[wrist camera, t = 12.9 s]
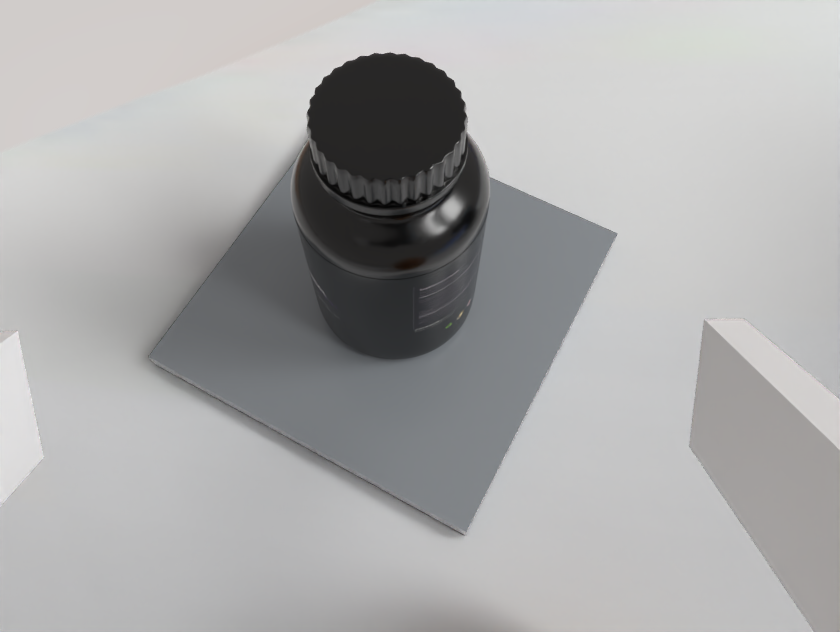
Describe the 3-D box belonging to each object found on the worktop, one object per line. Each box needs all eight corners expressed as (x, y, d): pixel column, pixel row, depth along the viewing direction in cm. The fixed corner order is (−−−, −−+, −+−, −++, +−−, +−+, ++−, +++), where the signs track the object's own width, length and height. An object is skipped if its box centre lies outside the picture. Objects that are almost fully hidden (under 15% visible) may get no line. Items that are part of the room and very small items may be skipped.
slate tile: (613, 242, 35) (617, 233, 35) (465, 535, 30) (466, 532, 29) (335, 119, 38) (334, 108, 38) (154, 363, 33) (148, 356, 32)
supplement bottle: (285, 305, 33) (219, 125, 22) (384, 200, 35) (369, -10, 24) (410, 398, 31) (404, 251, 20) (506, 281, 34) (547, 93, 23)
